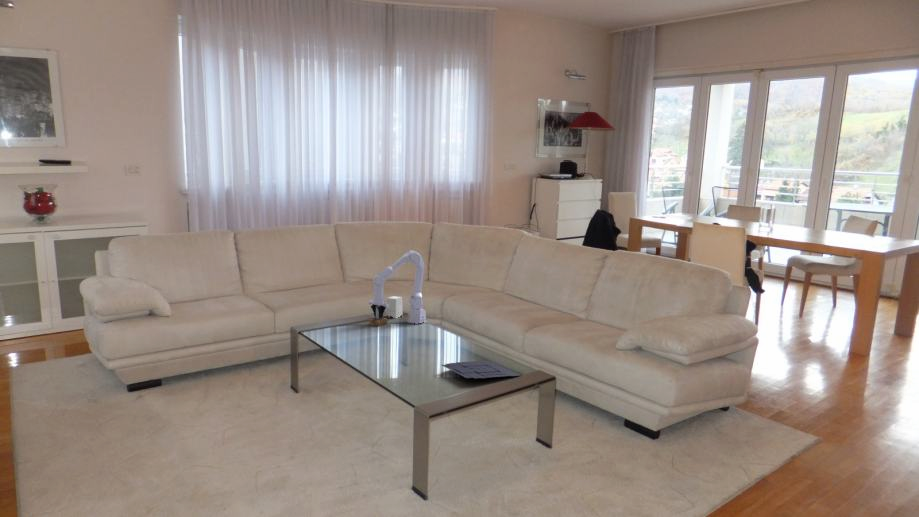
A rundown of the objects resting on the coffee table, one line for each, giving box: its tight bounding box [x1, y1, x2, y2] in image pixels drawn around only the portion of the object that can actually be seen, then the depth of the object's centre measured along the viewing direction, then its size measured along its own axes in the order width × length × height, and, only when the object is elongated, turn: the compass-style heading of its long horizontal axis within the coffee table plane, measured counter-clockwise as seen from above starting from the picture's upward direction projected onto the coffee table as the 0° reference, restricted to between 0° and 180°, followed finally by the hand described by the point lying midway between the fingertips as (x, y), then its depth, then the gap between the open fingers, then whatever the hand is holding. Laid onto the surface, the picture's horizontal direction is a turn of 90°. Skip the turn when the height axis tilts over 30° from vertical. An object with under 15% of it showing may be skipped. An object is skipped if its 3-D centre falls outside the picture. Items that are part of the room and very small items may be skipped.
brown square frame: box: [368, 316, 388, 327], centre depth 350 cm, size 8×8×4 cm
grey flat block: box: [441, 360, 521, 379], centre depth 267 cm, size 24×30×4 cm
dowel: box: [376, 306, 381, 320], centre depth 349 cm, size 3×3×9 cm
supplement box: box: [386, 295, 403, 319], centre depth 370 cm, size 7×7×13 cm
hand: (378, 317), depth 350 cm, fingers closed on dowel, 3 cm apart
